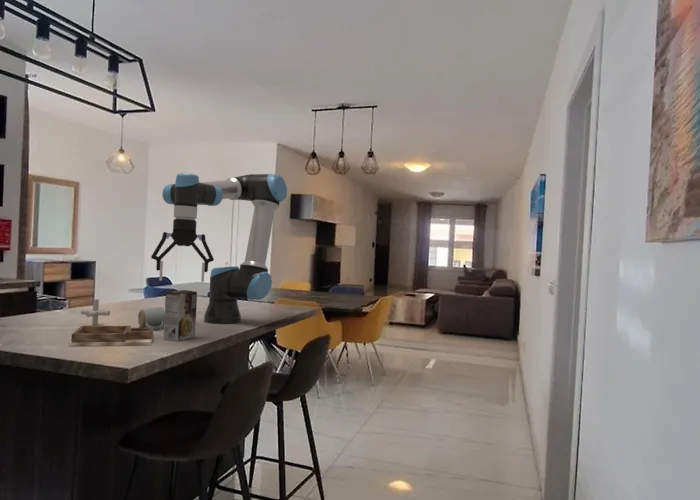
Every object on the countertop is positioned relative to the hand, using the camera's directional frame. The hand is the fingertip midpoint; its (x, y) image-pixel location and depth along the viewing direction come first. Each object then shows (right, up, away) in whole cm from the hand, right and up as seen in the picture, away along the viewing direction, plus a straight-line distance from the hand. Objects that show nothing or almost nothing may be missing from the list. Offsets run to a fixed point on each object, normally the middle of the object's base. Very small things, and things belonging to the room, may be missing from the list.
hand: (181, 281), depth 171 cm
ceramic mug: (-17, -19, +17) cm, 31 cm away
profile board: (-19, -19, -9) cm, 28 cm away
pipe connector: (-37, -18, +15) cm, 44 cm away
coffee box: (-1, -20, 0) cm, 20 cm away
